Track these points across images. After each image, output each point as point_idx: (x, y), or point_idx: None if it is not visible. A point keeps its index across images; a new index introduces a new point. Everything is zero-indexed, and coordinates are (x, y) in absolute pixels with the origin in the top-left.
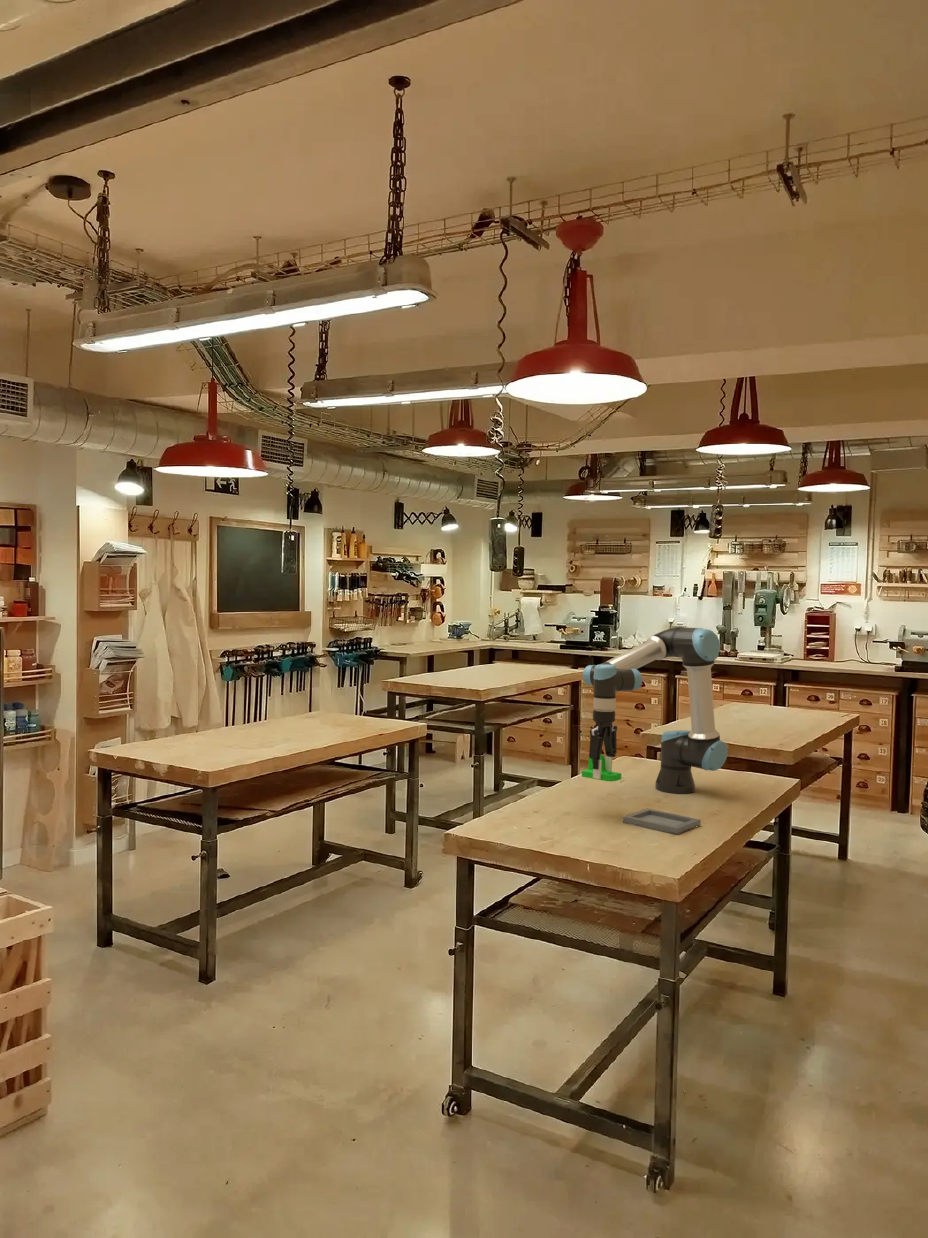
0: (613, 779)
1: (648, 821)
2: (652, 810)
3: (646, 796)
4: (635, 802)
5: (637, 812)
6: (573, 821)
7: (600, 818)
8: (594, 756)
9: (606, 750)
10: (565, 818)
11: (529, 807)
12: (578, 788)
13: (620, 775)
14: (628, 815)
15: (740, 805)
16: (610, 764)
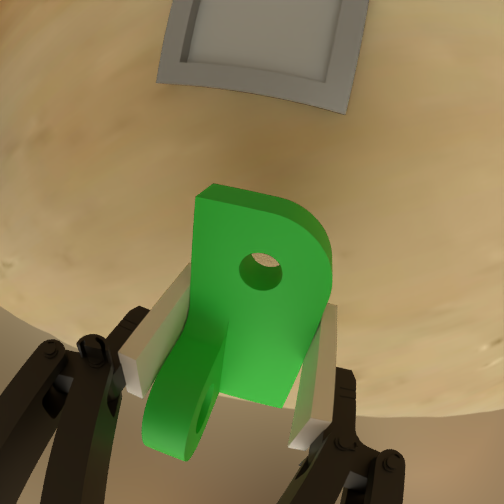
0: (311, 220)
1: (356, 8)
2: (174, 54)
3: (30, 181)
4: (78, 178)
5: (240, 83)
6: (413, 275)
7: (332, 206)
8: (401, 474)
9: (112, 429)
10: (388, 304)
11: None
12: (87, 329)
13: (214, 195)
14: (314, 98)
15: (7, 6)
16: (166, 320)
